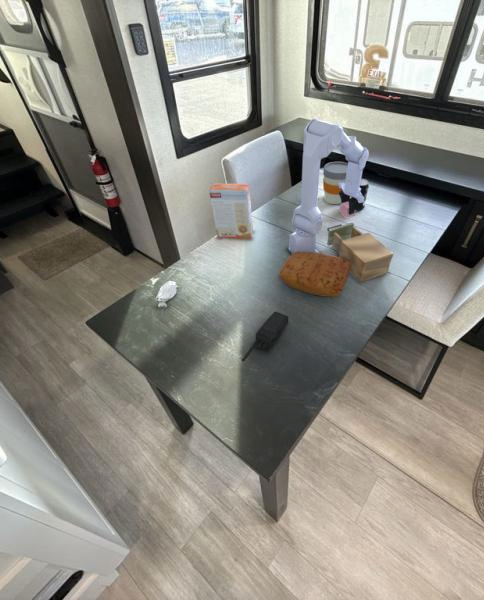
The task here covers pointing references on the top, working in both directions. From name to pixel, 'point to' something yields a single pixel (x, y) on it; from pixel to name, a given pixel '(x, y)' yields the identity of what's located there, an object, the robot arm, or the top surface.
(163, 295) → the bird figurine
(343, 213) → the block
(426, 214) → the top surface
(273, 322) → the walkie-talkie
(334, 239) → the drawer
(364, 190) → the beverage can
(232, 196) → the cracker box
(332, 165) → the reusable coffee cup
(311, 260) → the cuneiform tablet
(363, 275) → the cabinet
